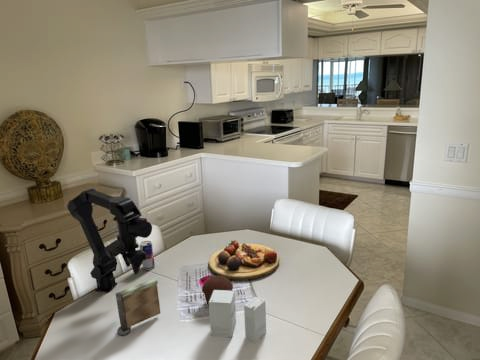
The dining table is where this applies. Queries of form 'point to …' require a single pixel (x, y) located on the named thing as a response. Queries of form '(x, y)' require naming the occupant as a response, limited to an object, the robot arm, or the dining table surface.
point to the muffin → (216, 286)
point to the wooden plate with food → (244, 261)
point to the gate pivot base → (123, 331)
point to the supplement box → (222, 313)
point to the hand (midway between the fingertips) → (132, 270)
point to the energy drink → (148, 249)
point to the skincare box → (255, 318)
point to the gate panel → (138, 303)
